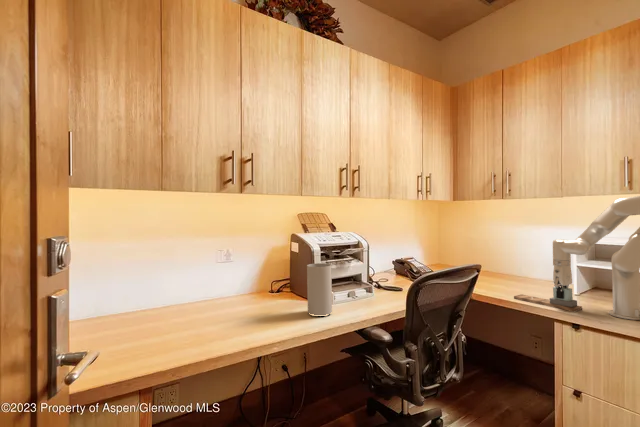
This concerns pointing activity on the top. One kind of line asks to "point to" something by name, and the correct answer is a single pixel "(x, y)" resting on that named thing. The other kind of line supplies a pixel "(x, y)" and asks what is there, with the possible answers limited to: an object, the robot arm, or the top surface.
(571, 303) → the sanding block
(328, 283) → the cylinder vase
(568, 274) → the robot arm
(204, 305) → the top surface
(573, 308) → the walnut plank
